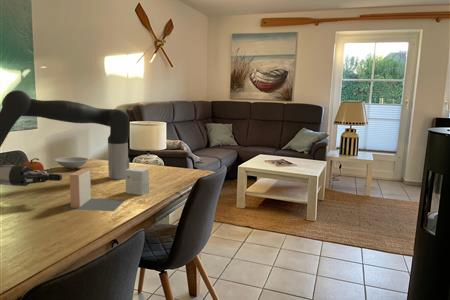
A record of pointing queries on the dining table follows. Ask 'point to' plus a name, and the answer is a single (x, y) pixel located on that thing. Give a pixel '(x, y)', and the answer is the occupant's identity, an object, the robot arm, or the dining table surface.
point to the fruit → (34, 165)
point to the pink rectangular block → (80, 188)
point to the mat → (99, 205)
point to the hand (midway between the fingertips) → (60, 177)
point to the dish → (72, 161)
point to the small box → (137, 181)
